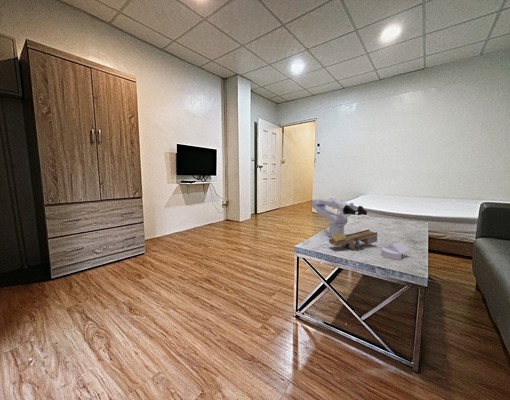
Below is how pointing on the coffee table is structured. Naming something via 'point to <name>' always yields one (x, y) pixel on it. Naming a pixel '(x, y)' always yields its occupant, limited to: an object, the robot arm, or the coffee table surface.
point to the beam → (364, 236)
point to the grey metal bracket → (353, 245)
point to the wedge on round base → (394, 251)
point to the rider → (338, 237)
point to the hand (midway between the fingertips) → (360, 213)
